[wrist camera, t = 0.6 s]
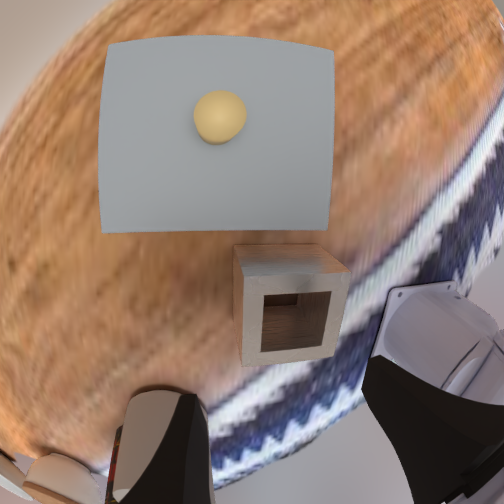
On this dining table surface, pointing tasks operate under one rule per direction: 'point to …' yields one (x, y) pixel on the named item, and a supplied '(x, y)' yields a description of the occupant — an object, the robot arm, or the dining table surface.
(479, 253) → the dining table surface
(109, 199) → the post block
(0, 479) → the serving bowl
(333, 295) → the collar
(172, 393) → the can
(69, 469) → the lidded bowl
